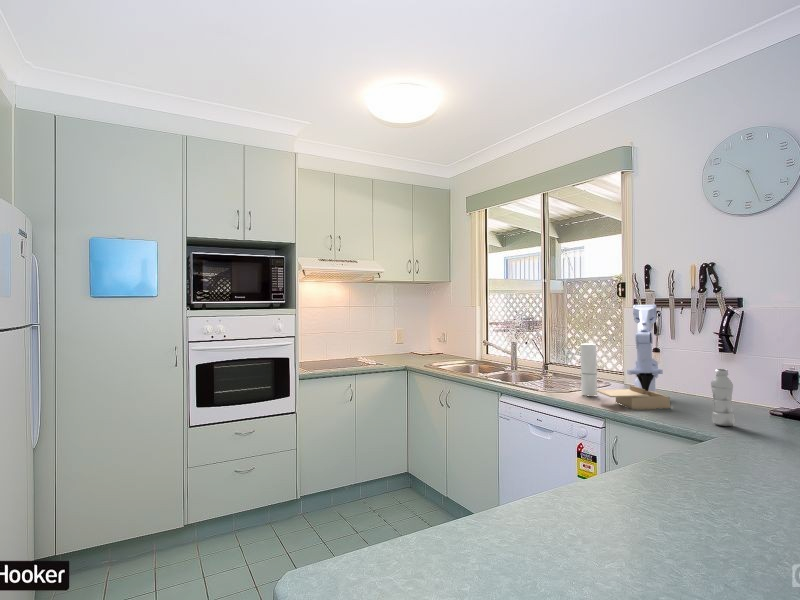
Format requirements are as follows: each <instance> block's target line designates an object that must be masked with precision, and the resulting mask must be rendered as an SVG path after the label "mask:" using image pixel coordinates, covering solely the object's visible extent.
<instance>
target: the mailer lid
mask: <svg viewBox="0 0 800 600" xmlns="http://www.w3.org/2000/svg"><path fill="white" fill-rule="evenodd" d="M596 392H597V393H599V394H602V395H604V396H606V397H610V398H616V397H649V395H647V394H646V392H645V389H642V388H639V387H636V386H635V385H630V386H629V388H627V389H626V388H625V389H624V388H623V389H621V388H620V389H597V390H596Z"/></svg>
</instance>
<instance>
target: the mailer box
mask: <svg viewBox="0 0 800 600" xmlns="http://www.w3.org/2000/svg"><path fill="white" fill-rule="evenodd" d="M645 392H646V394H647V395H649V397H615V403H616V402H617V403H616V404H618V403H620V404H622V405H621V406H623V405H624V406H623V407H625V406H626V407H625V408H627V407H628V409H630V408H631V409H630V410H632V409H635V410H657V409H656V408H670V409H671V404H670V403H671V400H670V397H671V396H668V395H665V394H662V393H658V392H653V391H645ZM620 404H619V405H620Z"/></svg>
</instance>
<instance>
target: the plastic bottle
mask: <svg viewBox="0 0 800 600" xmlns="http://www.w3.org/2000/svg"><path fill="white" fill-rule="evenodd" d="M714 375H715V376H714V378H713V379H712V381H710V387H711V392H712V398H713V400H712V401H713V406H712V409H713V410H712V415H711V419H712V422H713V423H714V425H717V426H722V427H730V426H731V427H732V426H734V424H735V419H736V417H735V414H734V409H733V403H732V402H733V391H734V389H733V388H734V384H733V382H732V381H731V379H730V378H729V377H728V375H729V370H728V369H726V368H725V369H724V368H723V369H721V368H717V369H715V372H714Z"/></svg>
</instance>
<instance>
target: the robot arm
mask: <svg viewBox="0 0 800 600" xmlns="http://www.w3.org/2000/svg"><path fill="white" fill-rule="evenodd" d="M632 311H633V312H632V315H633V320H634V322H635V323H636V324H637V325H636V333H635V336H634V337H635V338H634V339H635V345H636V346H635V348H636V360H635V361H634V369H632V368H631V369H627V370H626V371H627V375H629V376H630V375H631V376H632V375H634V376H635V380H634V386H636V387H639V388H642V389H645V391H653V392H656V391H657V390H656V379H658V378H659V375H663V373H664V371H663V369H661V368H659V366H658V365H659V364H658V361H657V360H655V359H654V358H653V350H652V349H653V348H652V347H653V343H654V341H653V339H654V338H653V332H652V325H653V324H655V323H656V322H657V312H658V311H657V305H656V304H634V305H633V306H632ZM656 393H657V392H656Z"/></svg>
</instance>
